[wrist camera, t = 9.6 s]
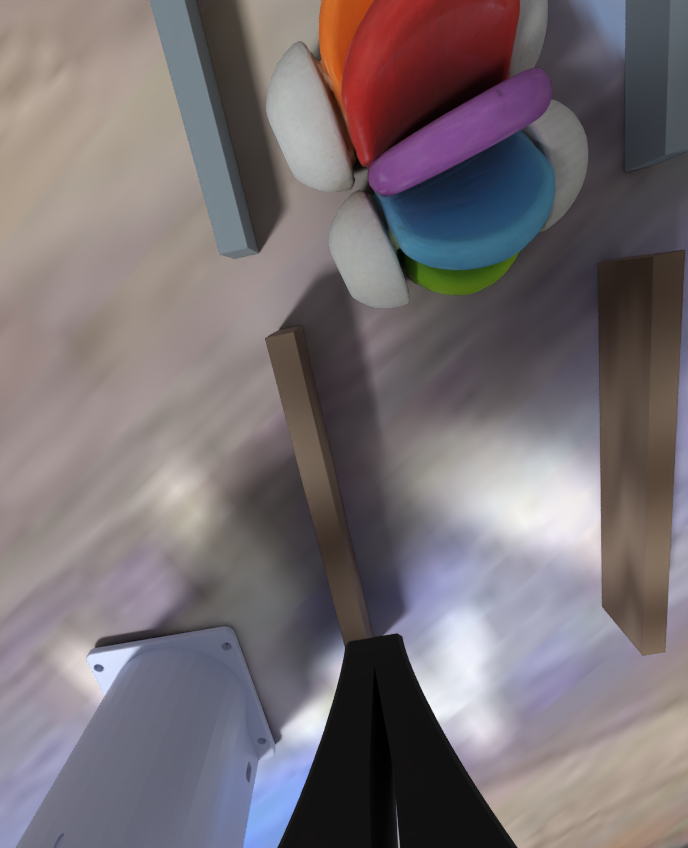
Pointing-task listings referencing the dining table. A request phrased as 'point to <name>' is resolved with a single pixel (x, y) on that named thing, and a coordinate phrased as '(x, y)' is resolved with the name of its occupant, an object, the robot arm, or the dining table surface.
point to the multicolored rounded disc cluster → (429, 139)
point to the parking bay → (214, 157)
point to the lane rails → (619, 449)
